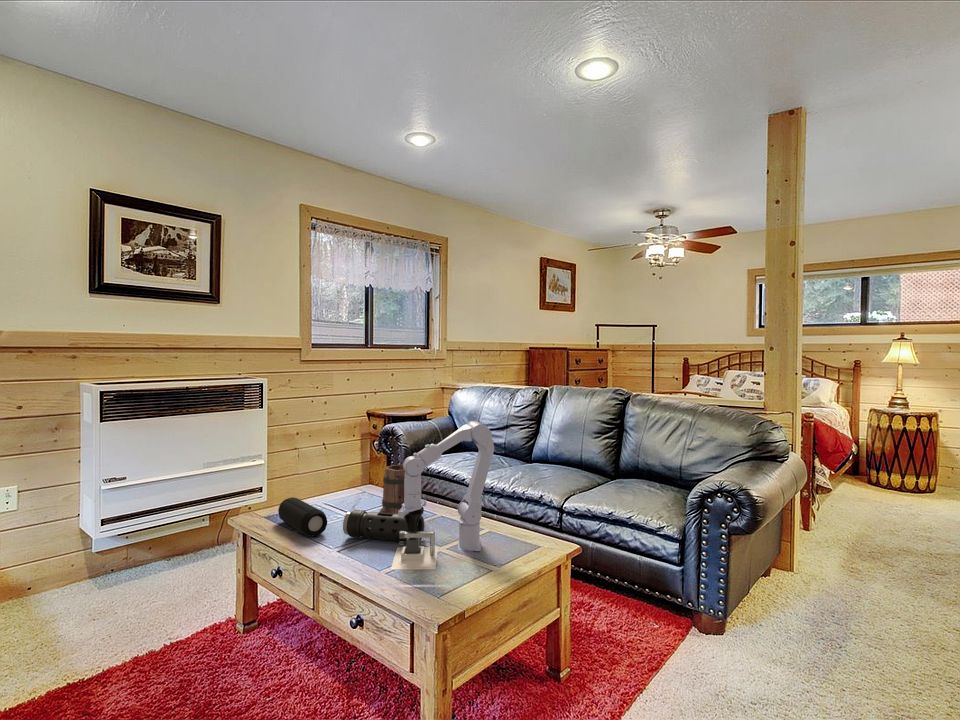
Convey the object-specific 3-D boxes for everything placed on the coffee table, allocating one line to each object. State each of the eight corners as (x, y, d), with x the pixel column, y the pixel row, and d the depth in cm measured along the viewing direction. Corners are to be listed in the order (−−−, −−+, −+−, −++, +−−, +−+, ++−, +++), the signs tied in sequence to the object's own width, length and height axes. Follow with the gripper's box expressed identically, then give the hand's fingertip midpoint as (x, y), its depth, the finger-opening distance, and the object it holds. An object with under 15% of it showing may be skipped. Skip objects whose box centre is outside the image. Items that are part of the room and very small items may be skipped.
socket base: (397, 548, 181) (397, 541, 181) (437, 548, 182) (437, 541, 182) (390, 571, 163) (390, 563, 163) (435, 570, 164) (435, 562, 164)
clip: (400, 554, 174) (400, 531, 174) (434, 553, 175) (434, 530, 175) (399, 556, 172) (399, 533, 172) (434, 556, 173) (434, 532, 173)
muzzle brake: (416, 549, 182) (416, 519, 181) (341, 542, 187) (341, 514, 187) (424, 539, 191) (424, 511, 191) (353, 533, 197) (353, 506, 196)
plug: (399, 554, 175) (399, 536, 175) (419, 553, 176) (419, 536, 176) (398, 559, 171) (398, 540, 171) (418, 558, 172) (418, 540, 172)
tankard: (368, 514, 218) (368, 467, 217) (400, 505, 230) (400, 460, 230) (405, 528, 202) (405, 477, 202) (437, 517, 215) (437, 469, 214)
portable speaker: (329, 534, 195) (329, 508, 195) (304, 541, 188) (304, 514, 188) (300, 518, 214) (300, 493, 213) (275, 523, 207) (275, 498, 207)
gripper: (414, 485, 185) (414, 523, 185) (390, 496, 172) (390, 537, 172) (431, 488, 182) (431, 526, 182) (408, 499, 169) (408, 540, 169)
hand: (412, 532), depth 177 cm, fingers closed
